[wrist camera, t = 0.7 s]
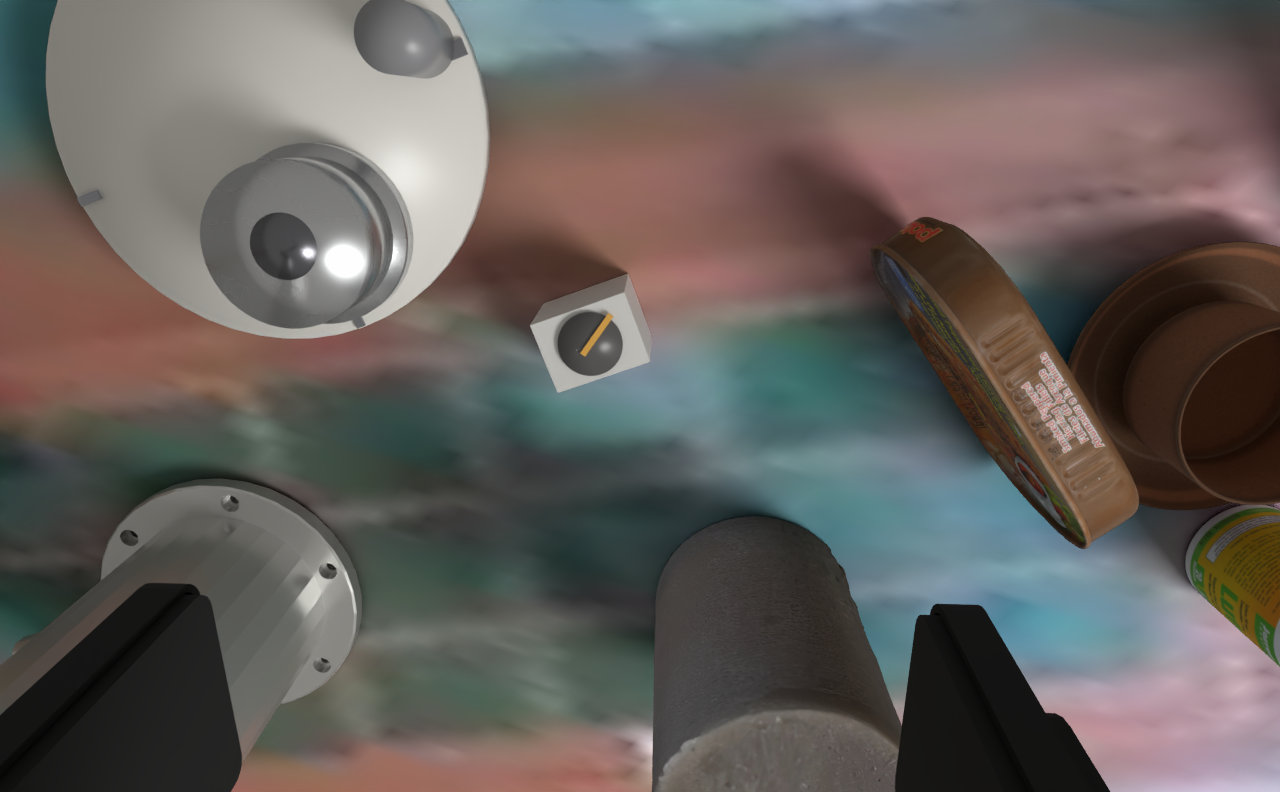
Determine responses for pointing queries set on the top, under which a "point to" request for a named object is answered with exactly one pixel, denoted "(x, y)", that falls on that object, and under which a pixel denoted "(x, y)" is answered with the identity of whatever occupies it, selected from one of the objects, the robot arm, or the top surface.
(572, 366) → the dial gauge
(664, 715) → the pillar candle
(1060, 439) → the tin
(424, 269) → the white disc with knobs
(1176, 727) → the top surface
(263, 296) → the door knob
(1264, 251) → the cup and saucer
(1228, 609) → the supplement bottle
